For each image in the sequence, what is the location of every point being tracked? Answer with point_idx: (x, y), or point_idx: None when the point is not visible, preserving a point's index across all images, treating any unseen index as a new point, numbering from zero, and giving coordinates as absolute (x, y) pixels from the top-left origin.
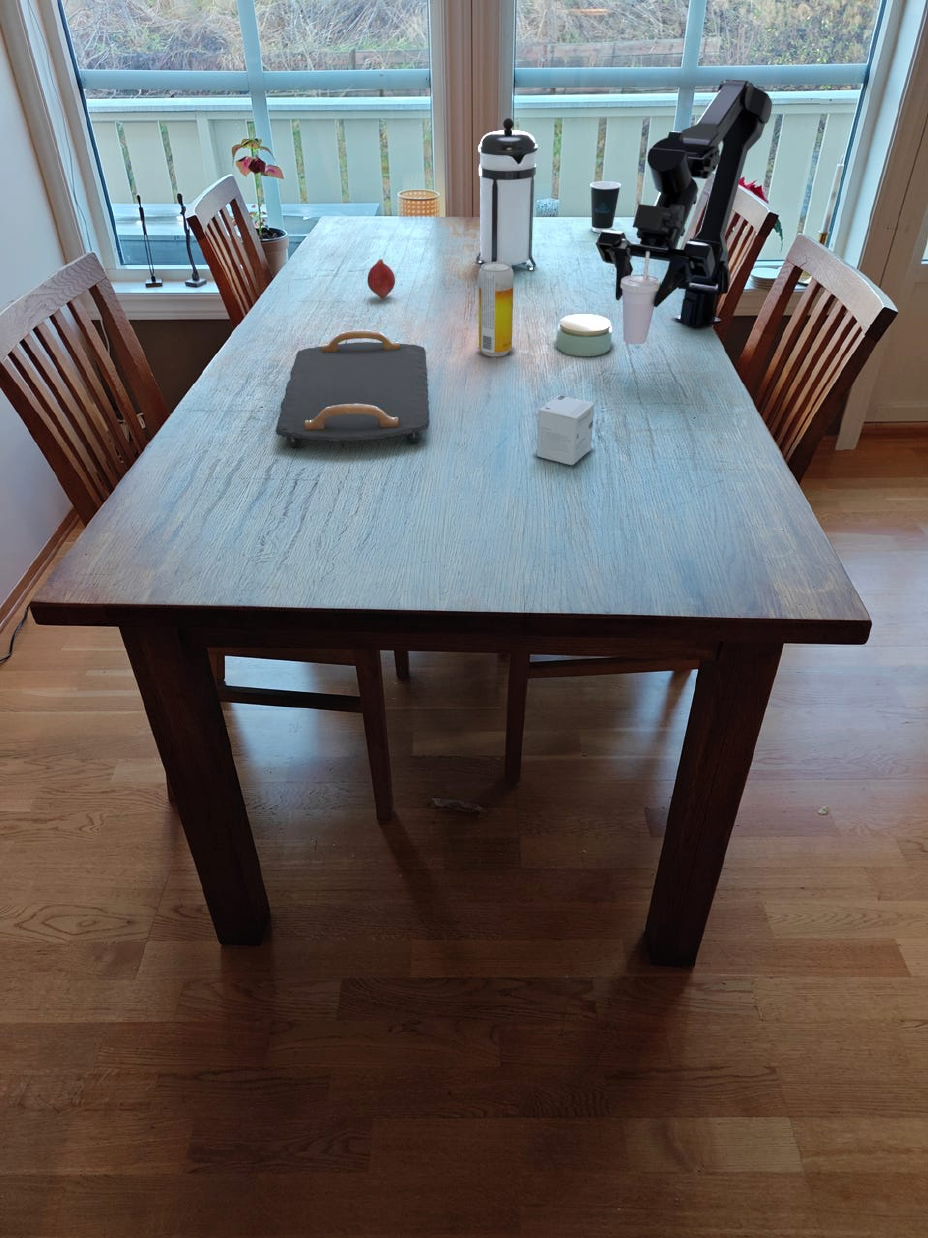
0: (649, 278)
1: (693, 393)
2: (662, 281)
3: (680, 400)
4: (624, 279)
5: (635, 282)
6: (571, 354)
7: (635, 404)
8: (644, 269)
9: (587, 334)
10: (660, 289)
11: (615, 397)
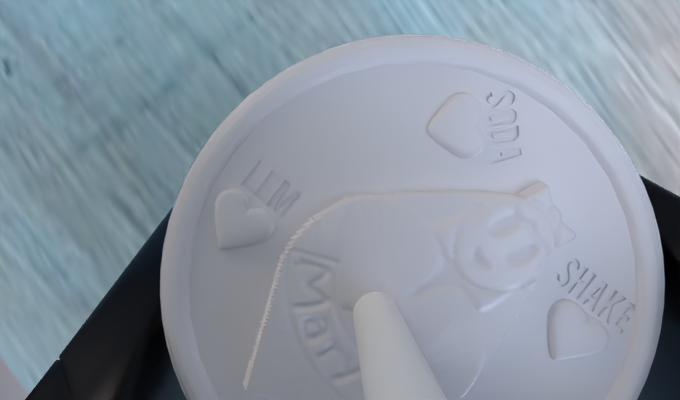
0: (347, 385)
1: (113, 247)
2: (128, 359)
3: (117, 165)
4: (613, 210)
5: (436, 190)
6: None
7: (220, 34)
8: (403, 329)
9: None
10: (148, 287)
11: (307, 40)
